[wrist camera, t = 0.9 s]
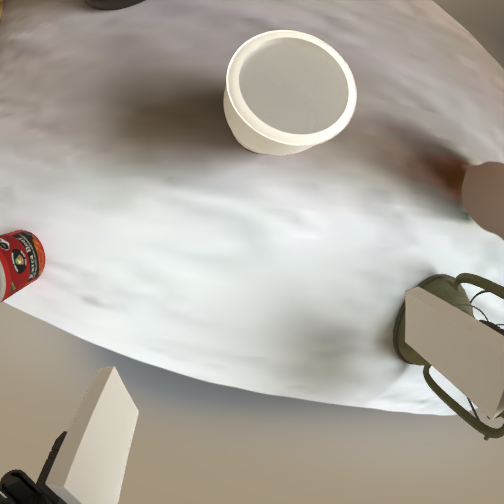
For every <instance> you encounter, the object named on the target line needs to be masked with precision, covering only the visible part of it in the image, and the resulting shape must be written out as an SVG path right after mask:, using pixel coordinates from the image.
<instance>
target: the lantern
mask: <svg viewBox="0 0 504 504" xmlns="http://www.w3.org/2000/svg"><path fill="white" fill-rule="evenodd" d="M460 283H469V284H473V285H475V286H478V287H480V288H483V289H485V290H484V291H481V292H479V293H477V294H476V295H475V296H474V297H473V298H472V300H471V301H469V299H468V297H467V295H466V292H465V290H464V289H463V287H462V286H461V284H460ZM417 287H420V288H422V289H424V290H426V291H427V292H429V293H431V294H433V295H435V296H436V297H438V298H440V299H442V300H444V301H445V302H447V303H449V304H451V305H452V306H454V307H456V308H458V309H459V310H461V311H463V312H465V313H466V314H468V315H470V316H471V317H473V318H475V317H474V315H473V309H472V307H474V308H476V309H478V308H477V307H475V306H472V305H471V302H472V301H473V299H474V298H475V297H476V296H478V295H479V294H481V293H485V292H491V293H493V294H495V295H497V296H499V297H500V298H502V299H504V287H503V286H500V285H498V284H496V283H494V282H492V281H490V280H487V279H485V278H482V277H480V276H477V275H474V274H470V273H462V274H459V275H458V276H457V277H456V278H454V277H452V276H449V275H446V274H440V275H435V276H432V277H429V278H428V279H426V280H425V281H423V282H421V283H420V284H419V285H418V286H417ZM478 310H479V311H480V312H481V313H482V314H483V315H484V316H485V314H484V313H483V312H482V311H481V310H480V309H478ZM405 313H406V308H405V302H404V304H403V306H402V307H401V309H400V312H399V314H398V317H397V319H396V323H395V327H394V334H393V342H394V347H395V350H396V352H397V354H398V356H399V357H400V358H401V359H403V360H404V361H405V362H407V363H409V364H415V365H425V366H424V369H423V375H424V378H425V380H426V382H427V384H428V385H429V387H430V388H431V389H432V390H433V391H434V392H435V394H436V395H437V396H438V397H439V398H440V399H441V400H442V401H444V402H445V403H446V404H447V405H448V406H449V407H450V408H451V409H452V410H453V411H454V412H456V413H457V414H458V415H459V416H460V417H461V418H463V419H464V420H465V421H466V422H467V423H468V424H470V425H471V426H472V427H473V428H475V429H476V430H478V431H479V432H480V433H482V434H483V435H485V437H484V439H485V440H488V439H489V438H490V437H491V438H499V437H502V436H503V435H504V424H503V426H502V427H501V428H499V429H495V428H491V427H489V426H487V425H485V424H484V423H482V422H481V421H480V420H479V418H478V416H477V414H476V411H475V409H474V407H473V405H472V403H471V401H470V399H469V398H468V397H467V399H468V401H469V403H470V405H471V407H472V410H473V412H474V414H475V416H476V418H475V417H474V416H472V415H471V414H470V413H469V412H468V411H467V410H465V409H464V408H463V407H462V406H460V405H459V404H458V403H457V402H456V401H455V400H454V399H452V398H451V397H450V396H449V395H448V394H447V393H446V392H445V391H444V390H442V389H441V388H440V387H439V386H438V385H437V384H436V382H435V381H434V380H433V379H432V378H431V376H430V374H429V368H430V367H431V366H432V365H431V364H430V363H429V362H428V361H426V360H425V359H424V358H423V357H422V356H421V355H420V354H418V353H417V352H416V351H415V350H414V349H413V348H412V347H410V346H409V345H408V344H407V343H406V342H405ZM485 318H486V319H487V317H486V316H485ZM487 321H488V319H487ZM488 322H489V321H488ZM496 325H504V324H496ZM500 416H501V417H502V418H504V411H503V412H501V413H500V414H499V415H498V416H497V417H500ZM487 417H488V416H487ZM497 417H495V418H497ZM488 418H489V417H488ZM495 418H494V419H495ZM489 419H490V418H489Z"/></svg>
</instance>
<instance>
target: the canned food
mask: <svg viewBox="0 0 504 504" xmlns="http://www.w3.org/2000/svg"><path fill="white" fill-rule="evenodd" d="M44 265H45V253H44V250H43V247H42V244H41V242H40V241H39V240H38V238H37V237H36V236H35V235H33V234H32V233H30V232H27V231H23V230H20V231H15V232H11V233H8V234H4V235H1V236H0V302H2V301H4V300H5V299H7V298H8V297H10V296H11V295H13V294H14V293H16V292H18V291H19V290H21V289H22V288H24V287H25V286H27V285H29V284H30V283H32V282H33V281H35V280H37V279H38V278H39V276H40V275H41V273H42V271H43V269H44Z"/></svg>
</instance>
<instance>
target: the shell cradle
mask: <svg viewBox="0 0 504 504" xmlns="http://www.w3.org/2000/svg"><path fill="white" fill-rule="evenodd" d="M3 4H4V0H0V21H1V15H2V9H3Z"/></svg>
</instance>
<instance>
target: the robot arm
mask: <svg viewBox="0 0 504 504" xmlns="http://www.w3.org/2000/svg"><path fill="white" fill-rule="evenodd" d="M85 1H86V3H87V4H89V5H90V6H92V7H94V8H97V9H103V10H112V9H120V8H124V7H128V6H131V5H134V4H137V3H140V2H142V1H144V0H85ZM405 308H406V313H405V342H406V343H407V344H408V345H409V346H410V347H412V348H413V349H414V350H415V351H416V352H417V353H418V354H420V355H421V356H422V357H423V358H424V359H425V360H426V361H428V362H429V363H430V364H431V365H432V366H433V367H434V368H435V369H437V370H438V371H439V372H440V373H441V374H442V375H443V376H444V377H446V378H447V379H448V380H449V381H450V382H451V383H452V384H453V385H454V386H455V387H457V388H458V389H459V390H460V391H461V392H462V393H463V394H464V395H465V396H466V397H468V398H469V399H470V400H471V401H472V402H473V403H474V404H475V405H476V406H477V407H478V408H479V409H481V410H482V411H483V412H484V413H485V414H486V415H487V416H488V417H489V418H490V419H491V420H493V419H494V418H495V417H497V416H498V415H499V414H500V413H501V412H503V411H504V329H501V328H500V327H499V326H497V325H495V324H494V323H492V322H488V321H484V320H479V321H478V320H477V319H475V318H473V317H471V316H470V315H468V314H466V313H465V312H463V311H461V310H459V309H458V308H456V307H454V306H452V305H451V304H449V303H447V302H445V301H444V300H442V299H440V298H438V297H436V296H435V295H433V294H431V293H429V292H427V291H426V290H424V289H422V288H420V287H415V288H412V289H410V290H407V291H405ZM138 413H139V411H138V410H137V408H136V406H135V404H134V403H133V401H132V399H131V397H130V395H129V394H128V392H127V390H126V388H125V386H124V384H123V382H122V380H121V378H120V377H119V374H118V372H117V370H116V368H115V366H110V367H103V368H100V369H99V370H98V372H97V374H96V376H95V378H94V380H93V382H92V384H91V385H90V388H89V389H88V391H87V393H86V395H85V397H84V399H83V401H82V403H81V405H80V407H79V409H78V411H77V413H76V415H75V417H74V419H73V422H72V424H71V426H70V428H69V430H68V432H65V431H64V432H63V433H62V434H61V435H60V436H59V437H58V438H57V439H56V441H55V443H54V445H53V447H52V449H51V450H52V451H51V452H50V453H49V456H48V459H47V460H46V462H45V464H44V467H43V469H42V471H41V473H40V476H39V478H38V480H37V483H36V484H35V483H34V482H33V481H32V480H31V479H30V478H29V477H28V476H27V475H26V473H24V472H23V471H21V470H12V471H9V472H8V473H6V474H5V475H4V476H3V478H2V479H1V481H0V491H1V492H2V493H3V494H4V495H5V496H6V497H7V498H4V497H3V496H2V495H1V494H0V504H118V500H119V496H120V490H121V486H122V481H123V476H124V472H125V467H126V463H127V457H128V454H129V449H130V445H131V441H132V437H133V433H134V429H135V425H136V421H137V417H138Z"/></svg>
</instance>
